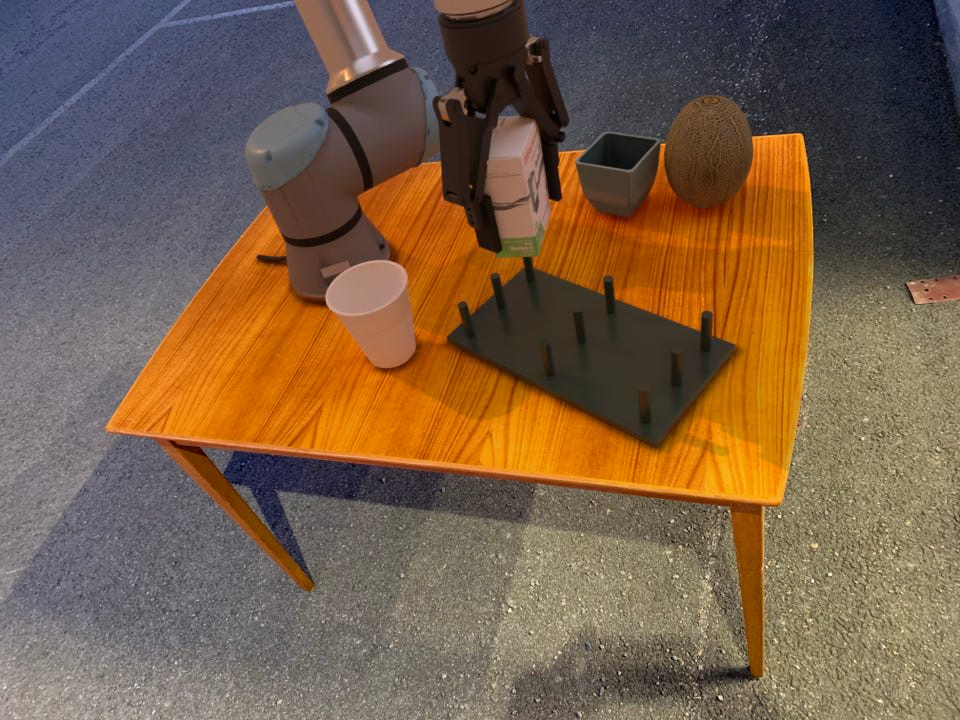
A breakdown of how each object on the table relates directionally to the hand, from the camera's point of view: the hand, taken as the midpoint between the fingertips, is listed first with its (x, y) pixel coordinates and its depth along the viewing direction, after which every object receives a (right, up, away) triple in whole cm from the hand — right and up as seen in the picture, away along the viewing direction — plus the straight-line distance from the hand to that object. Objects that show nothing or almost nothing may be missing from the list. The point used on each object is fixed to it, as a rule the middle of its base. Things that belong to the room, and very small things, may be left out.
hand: (521, 222), depth 75 cm
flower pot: (+16, +7, +26) cm, 31 cm away
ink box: (0, -1, +1) cm, 2 cm away
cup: (-15, -14, +14) cm, 25 cm away
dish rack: (+8, -13, +8) cm, 17 cm away
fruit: (+27, +7, +23) cm, 36 cm away
